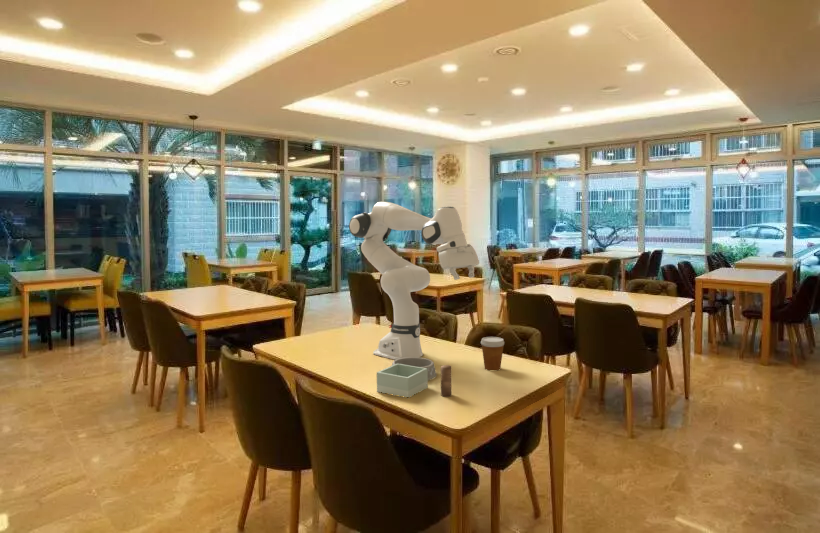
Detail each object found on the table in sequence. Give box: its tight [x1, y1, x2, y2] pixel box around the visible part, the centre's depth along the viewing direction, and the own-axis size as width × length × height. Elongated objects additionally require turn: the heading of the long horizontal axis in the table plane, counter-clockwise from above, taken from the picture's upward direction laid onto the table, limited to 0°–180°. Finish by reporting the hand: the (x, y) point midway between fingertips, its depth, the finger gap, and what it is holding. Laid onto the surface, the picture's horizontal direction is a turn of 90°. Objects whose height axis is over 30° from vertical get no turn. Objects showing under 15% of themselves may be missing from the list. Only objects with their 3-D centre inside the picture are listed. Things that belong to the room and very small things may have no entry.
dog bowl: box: [391, 357, 437, 381], centre depth 204 cm, size 17×18×5 cm
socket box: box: [376, 363, 429, 398], centre depth 186 cm, size 13×13×7 cm
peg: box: [440, 364, 452, 398], centre depth 180 cm, size 4×4×10 cm
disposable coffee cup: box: [480, 336, 506, 371], centre depth 210 cm, size 10×10×12 cm
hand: (464, 278), depth 208 cm, fingers open, 8 cm apart
